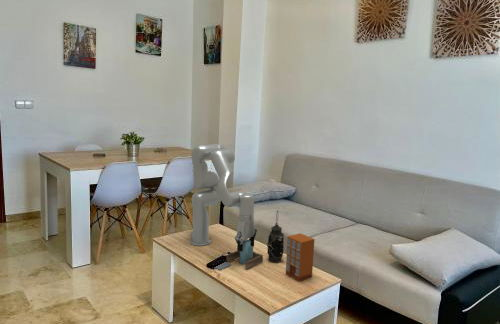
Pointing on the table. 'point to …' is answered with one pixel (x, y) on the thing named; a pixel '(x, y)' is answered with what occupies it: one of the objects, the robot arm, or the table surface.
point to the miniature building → (299, 256)
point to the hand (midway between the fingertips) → (245, 248)
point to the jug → (246, 252)
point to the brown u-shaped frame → (249, 264)
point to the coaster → (223, 266)
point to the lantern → (275, 244)
